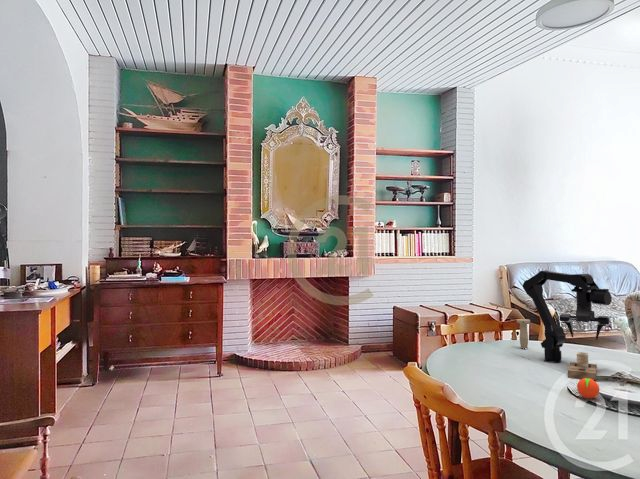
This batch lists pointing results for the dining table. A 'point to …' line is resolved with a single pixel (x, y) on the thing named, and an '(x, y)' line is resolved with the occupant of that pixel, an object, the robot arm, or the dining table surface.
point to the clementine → (588, 388)
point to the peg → (582, 359)
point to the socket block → (582, 371)
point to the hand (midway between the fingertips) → (584, 338)
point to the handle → (523, 332)
